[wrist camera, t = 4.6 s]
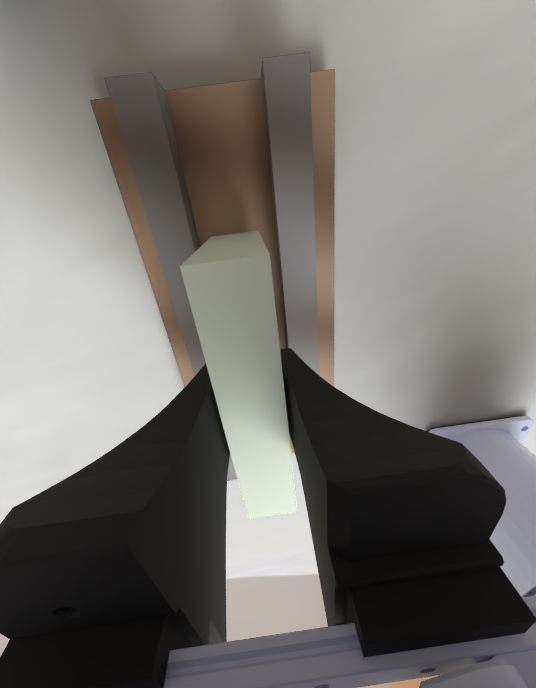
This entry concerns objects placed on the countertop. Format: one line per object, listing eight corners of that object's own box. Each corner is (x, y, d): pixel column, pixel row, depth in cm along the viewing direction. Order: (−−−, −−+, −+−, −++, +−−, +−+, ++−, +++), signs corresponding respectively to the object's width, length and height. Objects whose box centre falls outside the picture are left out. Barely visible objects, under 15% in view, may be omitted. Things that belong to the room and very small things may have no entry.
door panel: (280, 409, 16) (297, 511, 11) (247, 413, 16) (248, 519, 11) (258, 230, 11) (269, 254, 6) (211, 236, 11) (179, 266, 6)
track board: (329, 435, 20) (340, 464, 18) (211, 452, 20) (207, 483, 18) (327, 80, 11) (348, 47, 8) (103, 109, 10) (64, 83, 8)
